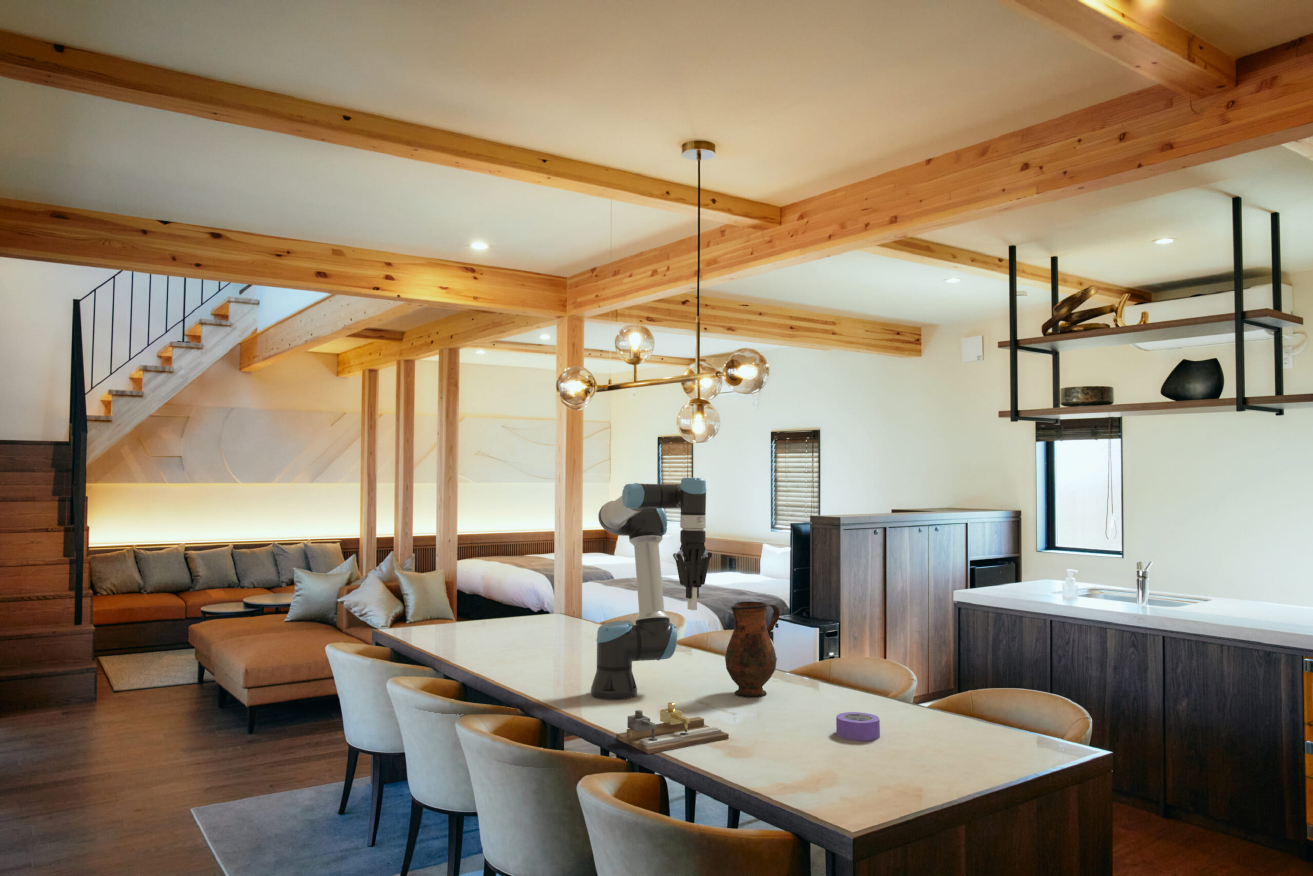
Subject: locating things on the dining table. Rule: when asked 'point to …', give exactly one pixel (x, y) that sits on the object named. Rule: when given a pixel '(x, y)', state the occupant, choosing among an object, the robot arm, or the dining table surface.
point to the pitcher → (751, 649)
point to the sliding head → (673, 716)
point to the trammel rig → (667, 734)
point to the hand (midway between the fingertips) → (692, 609)
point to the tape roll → (858, 726)
